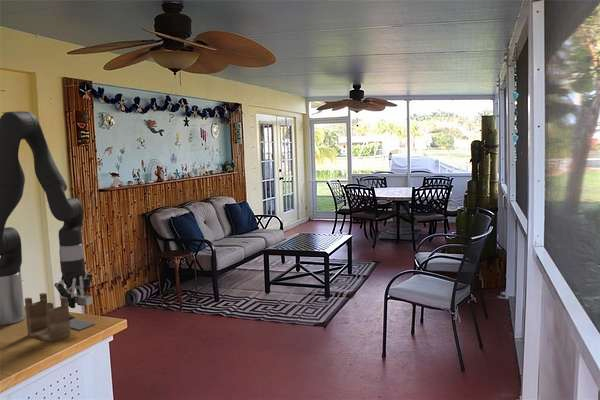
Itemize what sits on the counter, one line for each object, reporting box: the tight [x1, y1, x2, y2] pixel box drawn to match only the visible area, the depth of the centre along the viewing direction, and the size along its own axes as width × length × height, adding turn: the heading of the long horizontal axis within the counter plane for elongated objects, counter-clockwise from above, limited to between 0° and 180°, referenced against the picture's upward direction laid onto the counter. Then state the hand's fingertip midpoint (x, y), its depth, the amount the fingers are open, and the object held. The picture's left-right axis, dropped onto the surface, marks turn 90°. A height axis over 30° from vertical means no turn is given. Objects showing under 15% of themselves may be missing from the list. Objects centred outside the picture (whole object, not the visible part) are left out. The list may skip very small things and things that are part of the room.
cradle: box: [24, 292, 72, 343], centre depth 165 cm, size 13×6×12 cm, turn 61°
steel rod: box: [58, 292, 94, 306], centre depth 172 cm, size 14×2×2 cm, turn 61°
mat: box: [70, 318, 96, 332], centre depth 174 cm, size 10×6×1 cm, turn 61°
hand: (76, 306), depth 173 cm, fingers closed on steel rod, 2 cm apart
